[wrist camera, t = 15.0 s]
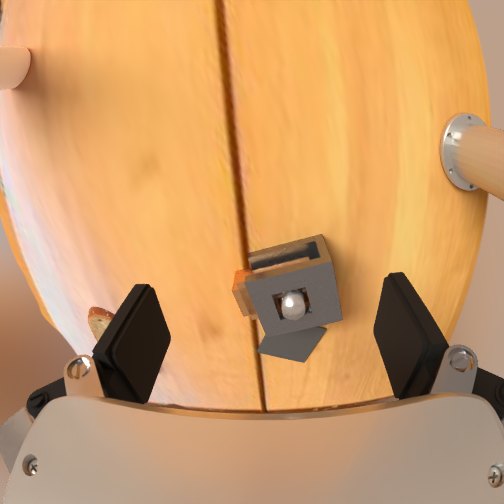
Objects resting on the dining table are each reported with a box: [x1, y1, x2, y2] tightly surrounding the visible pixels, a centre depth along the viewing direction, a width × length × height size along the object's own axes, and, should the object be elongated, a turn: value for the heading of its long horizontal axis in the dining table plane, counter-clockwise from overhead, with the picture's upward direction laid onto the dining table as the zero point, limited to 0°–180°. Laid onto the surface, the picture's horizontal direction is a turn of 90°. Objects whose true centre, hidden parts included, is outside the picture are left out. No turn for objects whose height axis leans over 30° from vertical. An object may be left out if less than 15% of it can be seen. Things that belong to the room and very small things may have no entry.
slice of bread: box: [88, 307, 114, 341], centre depth 53 cm, size 18×18×4 cm
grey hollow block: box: [232, 234, 343, 337], centre depth 39 cm, size 14×10×8 cm
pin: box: [281, 288, 305, 320], centre depth 39 cm, size 3×3×10 cm
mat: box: [257, 326, 326, 363], centre depth 50 cm, size 10×10×1 cm
